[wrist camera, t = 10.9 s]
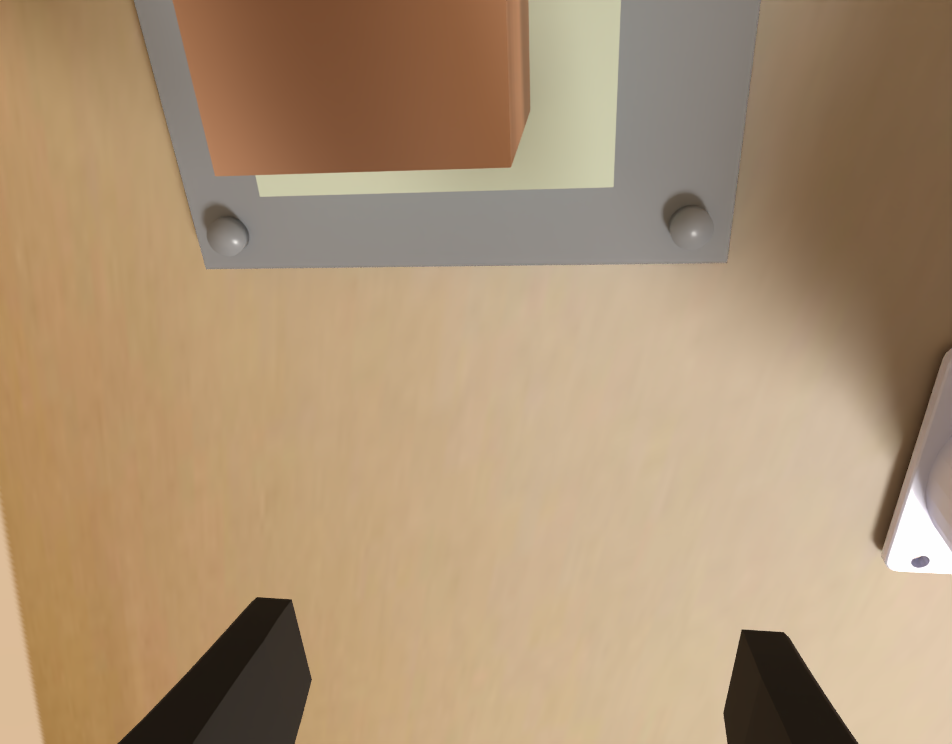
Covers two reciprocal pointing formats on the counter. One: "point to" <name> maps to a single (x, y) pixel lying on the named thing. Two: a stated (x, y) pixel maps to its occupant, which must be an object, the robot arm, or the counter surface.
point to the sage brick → (548, 125)
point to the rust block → (358, 83)
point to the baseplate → (509, 211)
